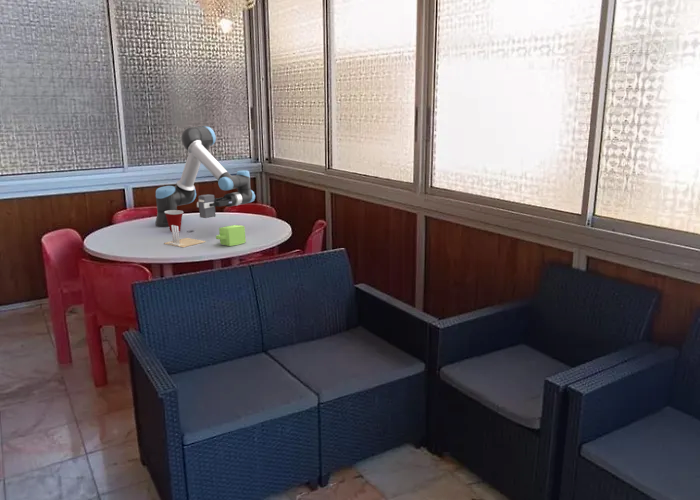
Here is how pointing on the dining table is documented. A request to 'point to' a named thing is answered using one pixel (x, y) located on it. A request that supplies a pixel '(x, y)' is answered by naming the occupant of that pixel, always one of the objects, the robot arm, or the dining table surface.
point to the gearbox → (231, 235)
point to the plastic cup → (174, 218)
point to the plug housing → (206, 211)
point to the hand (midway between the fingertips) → (200, 205)
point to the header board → (184, 241)
